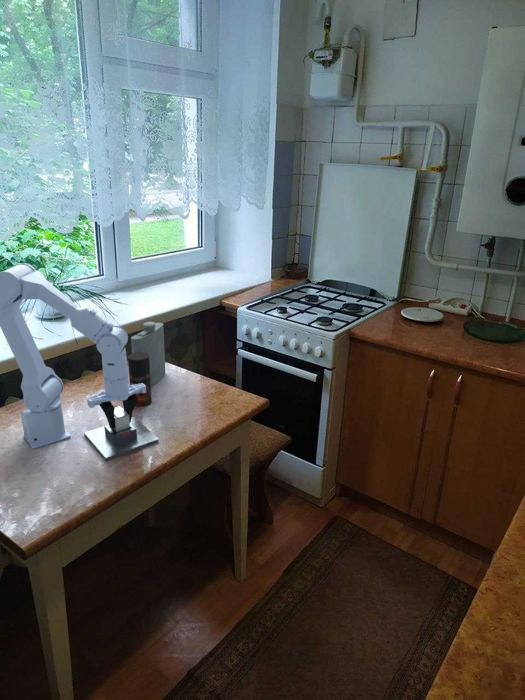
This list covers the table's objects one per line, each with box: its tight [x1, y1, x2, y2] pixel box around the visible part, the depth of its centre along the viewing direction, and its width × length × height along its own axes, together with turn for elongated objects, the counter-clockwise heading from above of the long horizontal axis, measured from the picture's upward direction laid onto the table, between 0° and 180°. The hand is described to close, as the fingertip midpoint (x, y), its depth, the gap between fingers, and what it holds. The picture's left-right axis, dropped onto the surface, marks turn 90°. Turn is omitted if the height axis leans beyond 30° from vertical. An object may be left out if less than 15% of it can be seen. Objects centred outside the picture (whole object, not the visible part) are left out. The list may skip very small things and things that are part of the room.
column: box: [111, 405, 130, 434], centre depth 126 cm, size 4×5×7 cm
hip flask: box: [130, 321, 167, 388], centre depth 155 cm, size 16×4×20 cm, turn 161°
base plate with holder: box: [83, 416, 160, 462], centre depth 127 cm, size 14×14×4 cm
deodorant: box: [127, 352, 153, 409], centre depth 143 cm, size 6×6×15 cm
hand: (119, 424), depth 126 cm, fingers closed on column, 4 cm apart
